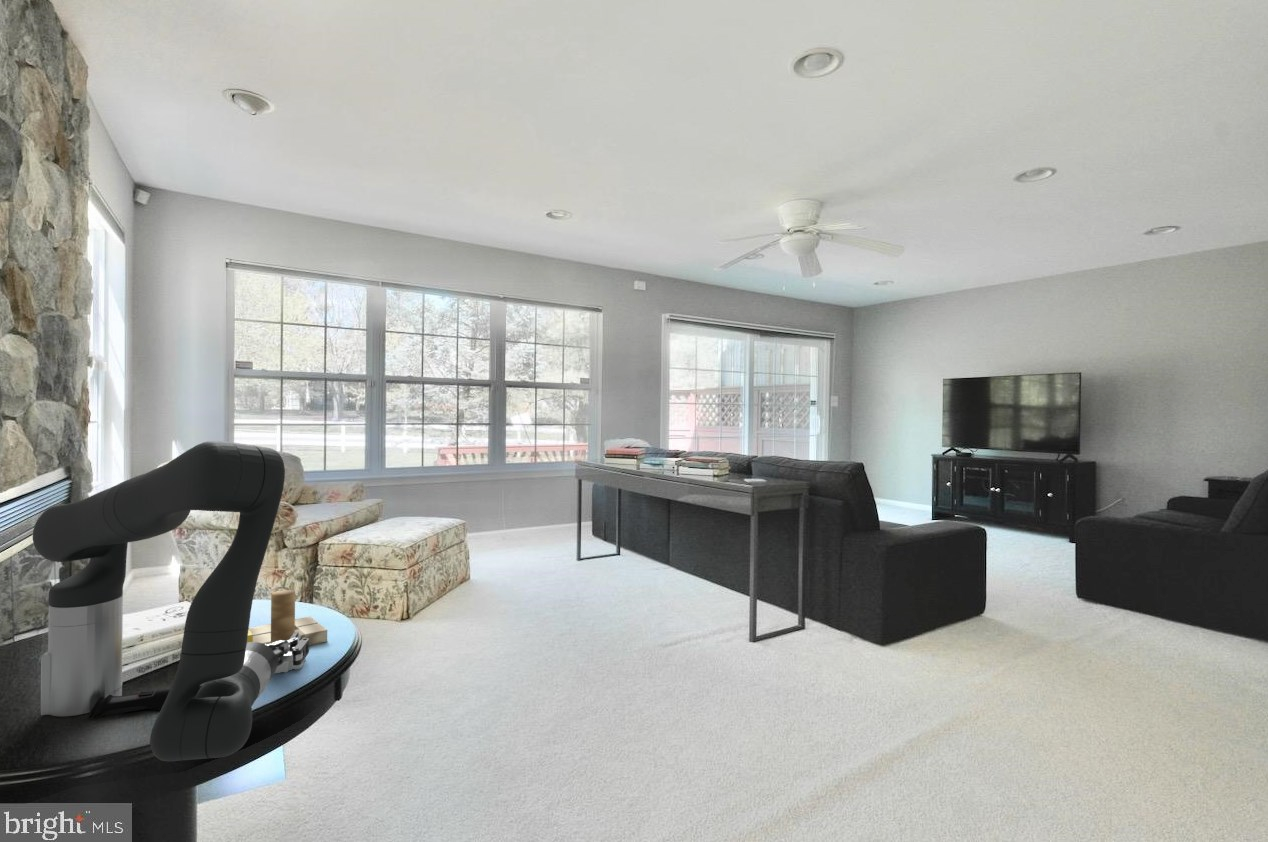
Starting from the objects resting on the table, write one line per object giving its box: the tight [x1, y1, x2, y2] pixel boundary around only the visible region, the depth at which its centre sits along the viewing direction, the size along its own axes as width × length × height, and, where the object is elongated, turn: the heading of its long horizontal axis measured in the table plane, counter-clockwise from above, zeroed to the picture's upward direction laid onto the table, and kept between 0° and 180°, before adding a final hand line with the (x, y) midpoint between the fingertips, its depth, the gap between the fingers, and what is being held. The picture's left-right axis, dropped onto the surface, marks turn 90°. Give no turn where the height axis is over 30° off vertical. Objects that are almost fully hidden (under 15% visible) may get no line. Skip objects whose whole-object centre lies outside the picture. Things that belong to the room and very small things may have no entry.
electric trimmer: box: [87, 684, 204, 720], centre depth 102 cm, size 4×16×3 cm, turn 112°
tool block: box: [274, 645, 306, 674], centre depth 120 cm, size 7×7×3 cm
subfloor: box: [249, 616, 328, 646], centre depth 131 cm, size 20×12×3 cm, turn 133°
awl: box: [270, 589, 296, 651], centre depth 120 cm, size 4×4×14 cm
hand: (269, 640), depth 110 cm, fingers open, 8 cm apart
